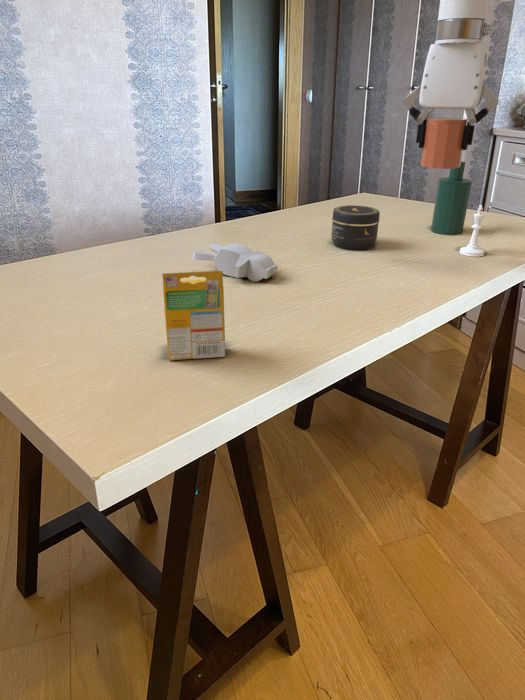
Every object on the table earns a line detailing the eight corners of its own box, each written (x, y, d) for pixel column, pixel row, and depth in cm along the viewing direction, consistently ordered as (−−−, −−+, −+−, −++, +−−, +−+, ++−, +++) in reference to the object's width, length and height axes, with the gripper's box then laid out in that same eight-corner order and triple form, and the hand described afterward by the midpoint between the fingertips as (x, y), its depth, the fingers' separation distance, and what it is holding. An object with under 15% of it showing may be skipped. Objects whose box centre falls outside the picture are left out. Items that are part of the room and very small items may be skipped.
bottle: (463, 229, 130) (476, 161, 122) (460, 236, 124) (473, 164, 116) (433, 226, 132) (444, 158, 125) (428, 233, 126) (440, 162, 119)
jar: (346, 253, 110) (349, 216, 107) (322, 241, 118) (324, 206, 115) (385, 248, 114) (389, 212, 111) (359, 237, 122) (362, 203, 119)
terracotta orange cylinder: (461, 164, 99) (469, 118, 95) (457, 169, 93) (465, 120, 90) (424, 162, 101) (430, 117, 98) (418, 167, 96) (424, 119, 92)
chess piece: (487, 253, 112) (497, 205, 107) (478, 258, 108) (488, 208, 104) (465, 248, 115) (474, 201, 110) (455, 253, 111) (464, 205, 107)
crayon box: (223, 347, 71) (221, 263, 65) (225, 357, 68) (224, 271, 63) (168, 350, 70) (161, 265, 64) (168, 361, 67) (161, 273, 62)
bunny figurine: (260, 266, 89) (187, 243, 94) (257, 294, 91) (186, 269, 97) (286, 252, 96) (217, 231, 102) (282, 278, 99) (215, 256, 104)
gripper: (516, 34, 88) (495, 148, 96) (410, 37, 94) (398, 144, 102) (515, 30, 82) (492, 153, 90) (402, 34, 88) (390, 148, 96)
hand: (442, 147), depth 96 cm, fingers closed on terracotta orange cylinder, 6 cm apart
